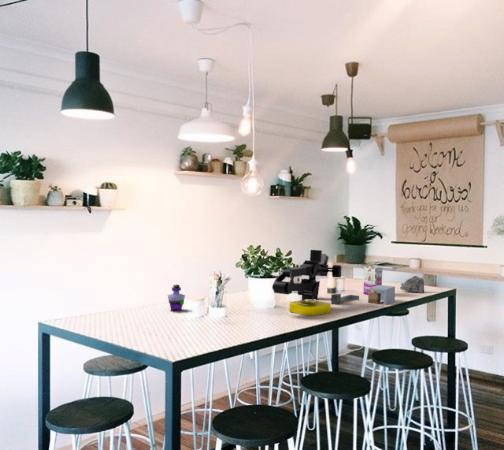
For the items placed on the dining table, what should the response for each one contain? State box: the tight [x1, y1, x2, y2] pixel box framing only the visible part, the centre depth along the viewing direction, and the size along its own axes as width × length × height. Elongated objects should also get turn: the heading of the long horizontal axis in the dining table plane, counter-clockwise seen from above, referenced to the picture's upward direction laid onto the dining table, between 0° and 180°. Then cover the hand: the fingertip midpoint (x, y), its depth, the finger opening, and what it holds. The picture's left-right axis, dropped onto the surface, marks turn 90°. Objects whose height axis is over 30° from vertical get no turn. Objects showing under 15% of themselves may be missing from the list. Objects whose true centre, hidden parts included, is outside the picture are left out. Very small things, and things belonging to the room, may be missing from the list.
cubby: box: [369, 284, 396, 306], centre depth 280 cm, size 14×9×8 cm, turn 146°
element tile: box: [288, 299, 332, 317], centre depth 248 cm, size 15×15×5 cm
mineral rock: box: [399, 275, 425, 294], centre depth 319 cm, size 13×11×10 cm
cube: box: [367, 293, 382, 305], centre depth 278 cm, size 5×5×5 cm
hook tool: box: [330, 293, 360, 306], centre depth 278 cm, size 21×6×5 cm, turn 146°
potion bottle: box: [167, 284, 186, 312], centre depth 248 cm, size 9×9×12 cm
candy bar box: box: [363, 265, 383, 296], centre depth 304 cm, size 11×5×16 cm, turn 25°
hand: (331, 270), depth 280 cm, fingers open, 9 cm apart
